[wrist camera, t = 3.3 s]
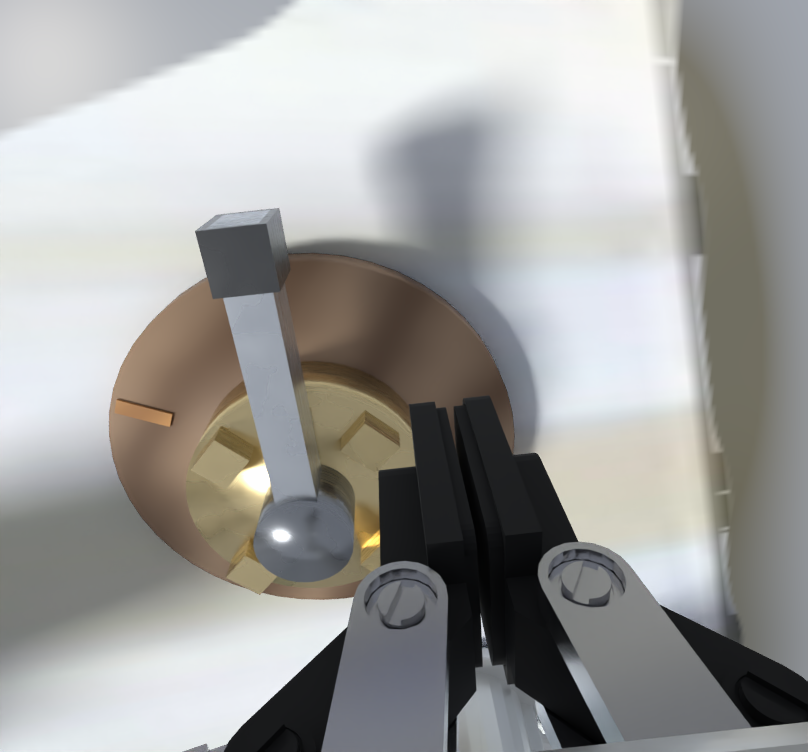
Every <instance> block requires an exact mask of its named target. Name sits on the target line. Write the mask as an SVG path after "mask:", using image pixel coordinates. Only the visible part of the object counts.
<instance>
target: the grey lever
mask: <svg viewBox="0 0 808 752" xmlns="http://www.w3.org/2000/svg"><path fill="white" fill-rule="evenodd" d="M195 233H196V236H197V240H198V244H199V248H200V252H201V256H202V259H203V263H204V267H205V271H206V275H207V278H208V282H209V286H210V290H211V294H212V298H213V299H220V298H223V300H224V304H225V308H226V311H227V315H228V319H229V323H230V327H231V331H232V335H233V339H234V343H235V347H236V351H237V355H238V359H239V363H240V367H241V371H242V375H243V379H244V381H242V382H241V383H240V384H238V385H237V386H236V387H235V388H234V389H232V390H231V391H230V392H229V393H228V394H227V395H226V397H225V398H224V399H223V400H222V401H221V402H220V404H219V405H218V407H217V408H216V410H215V412H214V413H213V415H212V417H211V419H210V421H209V423H208V425H207V427H206V429H205V431H204V433H203V435H202V437H201V439H200V441H199V443H198V445H197V447H196V449H195V452H194V454H193V456H192V458H191V461H190V464H189V468H188V472H187V477H186V497H187V503H188V507H189V511H190V514H191V516H192V519H193V521H194V523H195V526H196V527H197V529H198V530H199V532H200V534H201V535H202V537H203V538H204V539H205V541H206V542H207V543H208V544H209V545H210V547H211V548H212V549H213V550H215V551H216V552H217V553H218V554H219V555H220V556H221V557H222V558H224V559H225V560H226V561H228V562H229V563H230V566H229V569H228V573H227V576H226V578H227V579H229V580H231V581H233V582H235V583H237V584H239V585H241V586H243V587H245V588H247V589H249V590H251V591H253V592H255V593H257V594H259V595H260V594H261V593H262V592H263V591H264V590H265V589H266V588H267V587H268V586H269V585H270V584H271V583H276V584H280V585H285V586H292V587H300V588H323V587H333V586H340V585H345V584H349V583H353V582H356V581H359V580H362V579H364V578H365V577H366V576H367V575H368V574H369V573H371V572H372V571H374V570H375V569H376V568H378V567H380V525H379V480H378V472H379V470H386V469H395V468H404V467H413V466H415V457H414V448H413V439H412V429H411V420H410V410H409V406H408V405H407V404H406V402H405V401H404V400H403V399H402V398H401V397H400V396H399V395H398V394H397V393H396V392H395V391H394V390H393V389H391V388H390V387H389V386H388V385H386V384H385V383H383V382H382V381H380V380H379V379H377V378H375V377H374V376H372V375H370V374H367V373H365V372H363V371H361V370H359V369H355V368H352V367H349V366H346V365H342V364H337V363H331V362H322V361H300V356H299V351H298V346H297V341H296V336H295V331H294V326H293V321H292V316H291V311H290V306H289V301H288V296H287V291H286V286H285V281H286V279H287V277H288V274H289V272H290V270H291V268H290V262H289V257H288V252H287V247H286V242H285V236H284V231H283V226H282V221H281V215H280V210H279V208H276V209H266V210H257V211H248V212H239V213H230V214H221V215H216V216H214V217H213V218H212V219H210V220H209V221H208V222H207V223H205V224H204V225H203V226H201V227H200V228H199V229H197V230H196V231H195Z"/></svg>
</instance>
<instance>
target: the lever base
mask: <svg viewBox="0 0 808 752" xmlns="http://www.w3.org/2000/svg"><path fill="white" fill-rule="evenodd" d="M288 257H289V262H290V268H291V270H290V272H289V274H288V277H287V279H286V281H285V286H286V291H287V296H288V301H289V306H290V311H291V316H292V321H293V326H294V331H295V336H296V341H297V346H298V351H299V356H300V361H322V362H331V363H337V364H342V365H346V366H349V367H352V368H355V369H359V370H361V371H363V372H365V373H367V374H370V375H372V376H374V377H375V378H377V379H379V380H380V381H382V382H383V383H385V384H386V385H388V386H389V387H390V388H391V389H393V390H394V391H395V392H396V393H397V394H398V395H399V396H400V397H401V398H402V399H403V400H404V401H405V402H406V404H407V405H408V406H409V404H415V403H424V402H435V405H436V408H442V407H446V410H447V414H448V418H449V423H450V427H451V431H452V435H453V440H454V444H455V448H456V443H455V427H454V410H453V409H454V406H460V405H463V398H470V397H479V396H488V395H489V396H490V397H491V400H492V402H493V405H494V408H495V410H496V413H497V415H498V418H499V421H500V423H501V426H502V428H503V431H504V434H505V436H506V439H507V441H508V444H509V446H510V449H511V452H512V454H513V448H514V425H513V414H512V409H511V405H510V401H509V397H508V393H507V390H506V387H505V385H504V383H503V380H502V378H501V375H500V373H499V371H498V368H497V366H496V364H495V362H494V360H493V358H492V356H491V354H490V352H489V351H488V349H487V348H486V346H485V344H484V343H483V341H482V339H481V338H480V336H479V335H478V334H477V332H476V331H475V330H474V329H473V328H472V326H471V325H470V324H469V323H468V322H467V320H466V319H465V318H464V317H463V316H462V315H461V314H460V313H459V312H458V311H457V310H456V309H454V308H453V307H452V306H451V305H450V304H449V303H448V302H447V301H446V300H445V299H443V298H442V297H440V296H439V295H437V294H436V293H434V292H433V291H432V290H430V289H429V288H427V287H426V286H424V285H423V284H421V283H419V282H417V281H415V280H413V279H411V278H409V277H407V276H405V275H403V274H401V273H399V272H398V271H395V270H392V269H389V268H386V267H384V266H381V265H378V264H375V263H372V262H369V261H364V260H360V259H355V258H351V257H346V256H341V255H329V254H318V253H301V254H288ZM242 381H244V379H243V375H242V371H241V367H240V363H239V359H238V355H237V351H236V347H235V343H234V339H233V335H232V331H231V327H230V323H229V319H228V315H227V311H226V308H225V304H224V300H223V298H220V299H213V298H212V294H211V290H210V286H209V282H208V278H205V279H203V280H201V281H200V282H198V283H197V284H195V285H194V286H192V287H191V288H189V289H188V290H186V291H185V292H183V293H182V294H180V295H179V296H178V297H177V298H176V299H175V300H173V301H172V302H171V303H170V304H169V305H168V306H167V307H166V308H165V309H164V310H163V311H162V312H160V313H159V314H158V315H157V316H156V318H155V319H154V320H153V321H152V322H151V323H150V324H149V325H148V326H147V327H146V329H145V330H144V331H143V333H142V334H141V335H140V336H139V338H138V339H137V340H136V341H135V343H134V344H133V346H132V347H131V349H130V351H129V353H128V355H127V356H126V358H125V360H124V362H123V364H122V366H121V368H120V371H119V374H118V377H117V380H116V382H115V385H114V388H113V393H112V399H111V405H110V411H109V437H110V443H111V450H112V456H113V460H114V463H115V466H116V469H117V473H118V476H119V479H120V481H121V483H122V485H123V487H124V489H125V491H126V493H127V495H128V497H129V499H130V501H131V502H132V504H133V505H134V507H135V508H136V510H137V511H138V513H139V514H140V516H141V517H142V519H143V520H144V521H145V522H146V523H147V524H148V525H149V527H150V528H151V529H152V530H153V531H154V532H155V533H156V535H157V536H158V537H160V538H161V539H162V540H163V541H164V542H165V543H166V544H167V545H168V546H170V547H171V548H172V549H173V550H174V551H175V552H177V553H178V554H180V555H181V556H182V557H184V558H185V559H187V560H188V561H189V562H191V563H192V564H194V565H196V566H198V567H199V568H201V569H203V570H205V571H206V572H208V573H210V574H212V575H214V576H216V577H218V578H221V579H223V580H225V581H228V582H230V583H232V584H235V585H238V586H241V585H239V584H237V583H235V582H233V581H231V580H229V579H227V578H226V576H227V573H228V569H229V566H230V563H229V562H228V561H226V560H225V559H224V558H222V557H221V556H220V555H219V554H218V553H217V552H216V551H215V550H213V549H212V548H211V547H210V545H209V544H208V543H207V542H206V541H205V539H204V538H203V537H202V535H201V534H200V532H199V530H198V529H197V527H196V526H195V523H194V521H193V519H192V516H191V514H190V511H189V507H188V503H187V497H186V477H187V472H188V468H189V464H190V461H191V458H192V456H193V454H194V452H195V449H196V447H197V445H198V443H199V441H200V439H201V437H202V435H203V433H204V431H205V429H206V427H207V425H208V423H209V421H210V419H211V417H212V415H213V413H214V412H215V410H216V408H217V407H218V405H219V404H220V402H221V401H222V400H223V399H224V398H225V397H226V395H227V394H228V393H229V392H230V391H231V390H232V389H234V388H235V387H236V386H237V385H238V384H240V383H241V382H242ZM362 580H363V579H362ZM362 580H359V581H356V582H353V583H349V584H345V585H340V586H333V587H323V588H300V587H292V586H285V585H280V584H276V583H271V584H270V585H269V586H268V587H267V588H266V589H265V590H264V591H263V592H262V593H266V594H270V595H275V596H281V597H289V598H297V599H320V600H325V599H340V598H350V597H354V595H355V593H356V590H357V588H358V585H359V584H360V583H361V582H362ZM241 587H243V586H241ZM244 588H245V587H244Z"/></svg>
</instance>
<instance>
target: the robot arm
mask: <svg viewBox="0 0 808 752" xmlns="http://www.w3.org/2000/svg"><path fill="white" fill-rule="evenodd" d="M409 410H410V420H411V429H412V439H413V448H414V457H415V466H413V467H404V468H395V469H386V470H379V472H378V480H379V525H380V567H378V568H376V569H375V570H374V571H372V572H371V573H369V574H368V575H367V576H366V577H365V578H364V579H363V580H362V582H361V583H360V584H359V585H358V588H357V590H356V593H355V595H354V599H353V603H352V608H351V613H350V618H349V622H348V627H347V628H346V629H345V630H343V631H342V632H341V633H340V634H339V635H338V636H337V637H336V638H335V639H334V640H333V641H332V642H331V643H330V644H329V645H328V646H326V647H325V648H324V649H323V650H322V651H321V652H320V653H319V654H318V655H317V656H316V657H315V658H314V659H313V660H312V661H311V662H309V663H308V664H307V665H306V666H305V667H304V668H303V669H302V670H301V671H300V672H299V673H298V674H297V675H296V676H295V677H294V678H292V679H291V680H290V681H289V682H288V683H287V684H286V685H285V686H284V687H283V688H282V689H281V690H280V691H279V692H278V693H277V694H275V695H274V696H273V697H272V698H271V699H270V700H269V701H268V702H267V703H266V704H265V705H264V706H263V707H262V708H261V709H260V710H258V711H257V712H256V713H255V714H254V715H253V716H252V717H251V718H250V719H249V720H248V721H247V722H246V723H245V724H244V725H243V726H242V727H241V728H240V729H239V730H238V731H237V732H236V734H235V735H234V736H233V737H232V738H231V740H230V741H229V742H228V744H227V745H224V746H221V747H218V748H215V749H212V750H209V748H208V745H207V744H204V745H201V746H198V747H195V748H192V749H189V750H187V751H184V752H808V681H806V680H805V679H804V678H803V677H801V676H800V675H798V674H797V673H795V672H793V671H792V670H790V669H788V668H787V667H785V666H783V665H781V664H779V663H777V662H775V661H773V660H771V659H769V658H767V657H765V656H763V655H761V654H759V653H757V652H755V651H753V650H751V649H749V648H747V647H745V646H743V645H741V644H739V643H737V642H735V641H733V640H730V639H728V638H726V637H724V636H722V635H720V634H718V633H716V632H714V631H712V630H710V629H708V628H706V627H704V626H702V625H700V624H698V623H696V622H694V621H692V620H690V619H688V618H686V617H684V616H682V615H680V614H677V613H675V612H673V611H671V610H669V609H667V608H665V607H663V606H661V605H659V604H658V602H657V601H656V600H655V598H654V597H653V596H652V594H651V593H650V592H649V590H648V589H647V588H646V586H645V585H644V584H643V582H642V581H641V580H640V578H639V577H638V576H637V574H636V573H635V572H634V570H633V569H632V568H631V566H630V565H629V564H628V563H627V562H626V561H625V560H624V559H623V558H622V557H621V556H619V555H618V554H616V553H615V552H613V551H611V550H610V549H608V548H605V547H602V546H599V545H596V544H594V543H586V542H578V540H577V538H576V535H575V533H574V531H573V529H572V527H571V525H570V522H569V520H568V518H567V516H566V514H565V511H564V509H563V507H562V505H561V503H560V500H559V498H558V496H557V494H556V492H555V489H554V487H553V485H552V483H551V481H550V478H549V476H548V474H547V472H546V470H545V468H544V465H543V463H542V461H541V459H540V457H539V455H538V454H536V453H530V454H521V455H513V454H512V452H511V449H510V446H509V444H508V441H507V439H506V436H505V434H504V431H503V428H502V426H501V423H500V421H499V418H498V415H497V413H496V410H495V408H494V405H493V402H492V400H491V397H490V396H489V395H488V396H479V397H470V398H463V405H460V406H454V409H453V410H454V427H455V443H456V448H455V444H454V440H453V435H452V431H451V427H450V423H449V418H448V414H447V410H446V407H442V408H436V405H435V402H424V403H415V404H409ZM480 613H481V615H480ZM481 617H482V622H483V627H484V632H485V636H486V641H487V646H488V648H486V647H482V637H481ZM537 716H538V717H539V719H540V722H541V724H542V727H543V729H544V731H545V734H542V732H541V730H540V729H539V728H538V724H537V720H536V718H537Z"/></svg>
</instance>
